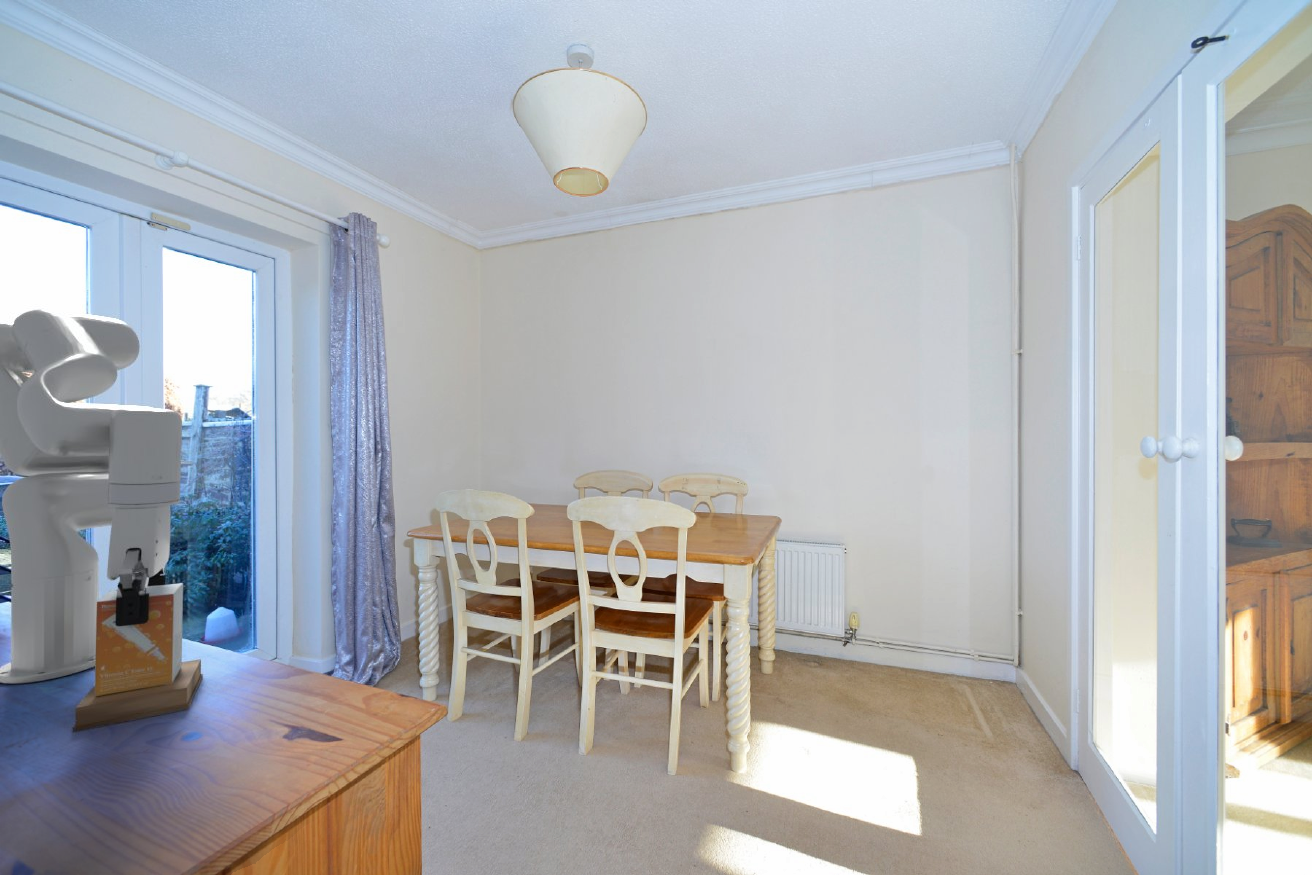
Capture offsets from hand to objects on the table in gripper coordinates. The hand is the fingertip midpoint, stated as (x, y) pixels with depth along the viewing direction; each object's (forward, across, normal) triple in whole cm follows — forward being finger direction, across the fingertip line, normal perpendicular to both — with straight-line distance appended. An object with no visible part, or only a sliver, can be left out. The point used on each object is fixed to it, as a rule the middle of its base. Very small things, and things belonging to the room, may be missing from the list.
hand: (141, 612), depth 78 cm
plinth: (+13, +1, +1) cm, 13 cm away
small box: (+10, +1, 0) cm, 10 cm away
